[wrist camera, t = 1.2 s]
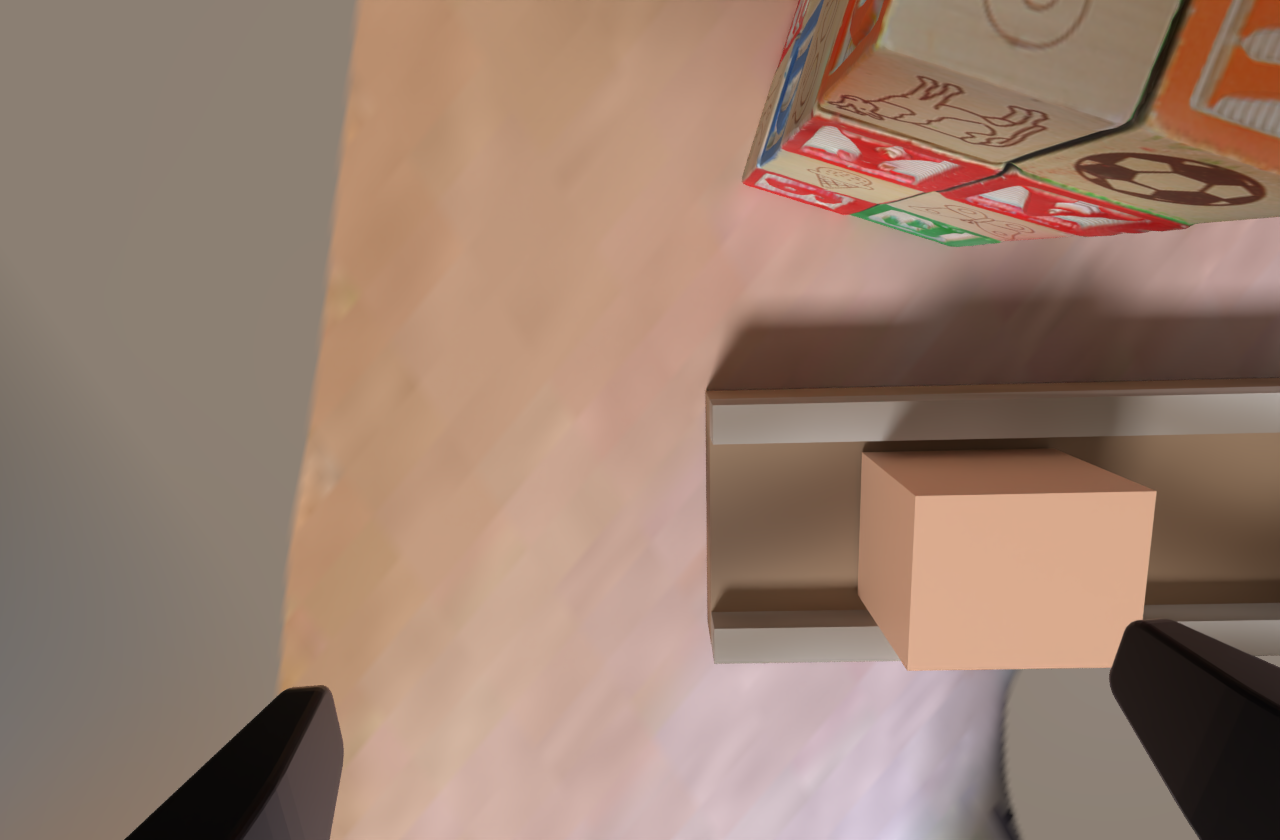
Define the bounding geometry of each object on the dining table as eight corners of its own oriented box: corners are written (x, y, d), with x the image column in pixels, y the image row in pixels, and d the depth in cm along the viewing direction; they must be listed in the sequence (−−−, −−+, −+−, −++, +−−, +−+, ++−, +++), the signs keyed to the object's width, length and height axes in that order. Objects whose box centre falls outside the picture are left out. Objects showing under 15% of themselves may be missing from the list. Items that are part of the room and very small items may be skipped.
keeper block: (1041, 591, 20) (1137, 667, 16) (857, 594, 20) (907, 670, 16) (1053, 448, 19) (1156, 490, 15) (862, 452, 19) (915, 496, 15)
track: (1293, 611, 22) (1435, 684, 18) (707, 620, 22) (719, 694, 18) (1328, 376, 20) (1491, 399, 16) (705, 391, 21) (718, 416, 17)
